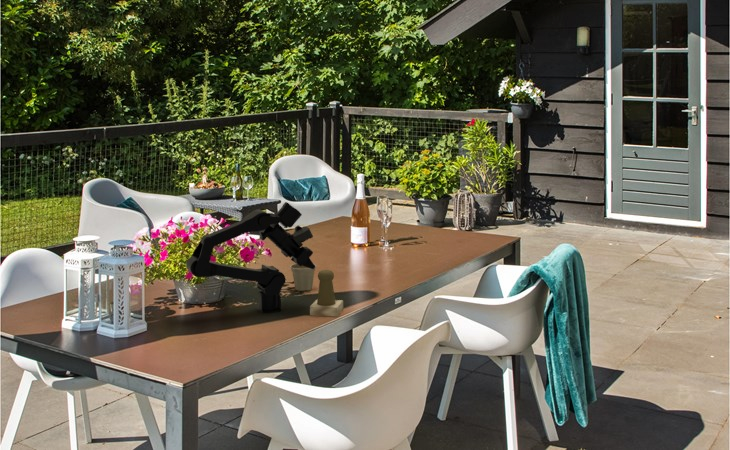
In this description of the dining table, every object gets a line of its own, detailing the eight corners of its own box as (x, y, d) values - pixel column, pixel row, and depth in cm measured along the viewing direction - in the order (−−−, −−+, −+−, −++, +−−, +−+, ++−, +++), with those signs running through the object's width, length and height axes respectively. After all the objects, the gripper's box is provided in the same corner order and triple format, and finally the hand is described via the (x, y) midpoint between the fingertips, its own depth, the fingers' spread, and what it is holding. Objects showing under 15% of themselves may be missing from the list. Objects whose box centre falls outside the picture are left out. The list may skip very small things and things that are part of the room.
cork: (331, 300, 315) (331, 267, 313) (338, 304, 310) (337, 271, 308) (314, 302, 313) (313, 269, 311) (320, 306, 307) (320, 273, 305)
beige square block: (310, 315, 308) (310, 306, 308) (316, 308, 317) (316, 299, 316) (337, 316, 307) (337, 307, 306) (343, 309, 315) (343, 300, 315)
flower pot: (316, 292, 337) (315, 268, 336) (289, 292, 338) (288, 268, 336) (317, 286, 347) (317, 262, 345) (291, 286, 347) (291, 263, 345)
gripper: (306, 224, 305) (339, 255, 311) (289, 215, 322) (320, 244, 328) (283, 250, 304) (316, 281, 310) (267, 240, 321) (299, 269, 327)
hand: (314, 267), depth 319 cm, fingers closed
